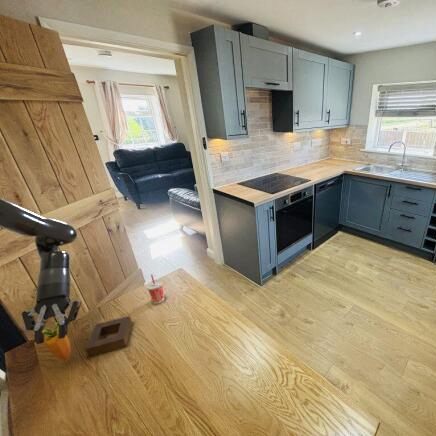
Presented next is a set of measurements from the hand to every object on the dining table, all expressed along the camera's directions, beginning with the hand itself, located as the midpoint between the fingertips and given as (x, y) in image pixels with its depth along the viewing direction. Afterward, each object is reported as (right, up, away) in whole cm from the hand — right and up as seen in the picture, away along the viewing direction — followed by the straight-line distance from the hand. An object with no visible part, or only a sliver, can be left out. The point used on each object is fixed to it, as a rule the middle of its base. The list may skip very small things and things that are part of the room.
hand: (51, 340), depth 71 cm
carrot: (-1, -10, +6) cm, 11 cm away
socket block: (+6, -8, +17) cm, 19 cm away
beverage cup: (+13, 0, +35) cm, 37 cm away
